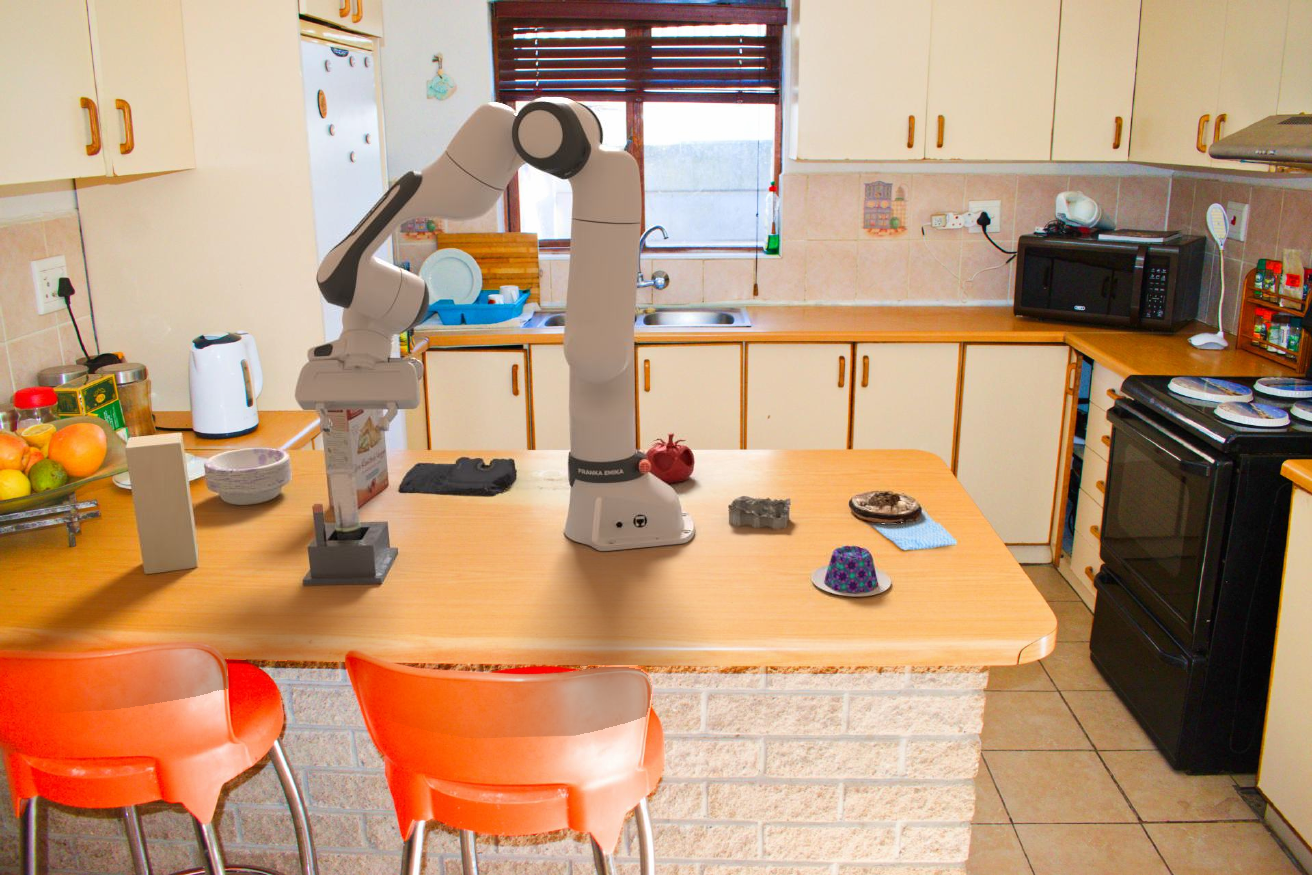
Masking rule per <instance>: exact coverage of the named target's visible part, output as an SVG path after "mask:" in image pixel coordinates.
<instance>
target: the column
mask: <svg viewBox="0 0 1312 875" xmlns="http://www.w3.org/2000/svg"><path fill="white" fill-rule="evenodd" d="M357 470H358V465H329V466H328V467H327V468H326V467H325V475H326V474H330V477H331V486H332V495H333V504H334V507H333V511H334V521H335V522H334V523H336V524H335V531H336V532H337V541H338V540H361V532H360V529H361V523H360V522H361V521H360V515H359V513H360V512H359V507H358V503H357V493H356V483H355V473H356V472H357Z"/></svg>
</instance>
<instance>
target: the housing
mask: <svg viewBox="0 0 1312 875" xmlns="http://www.w3.org/2000/svg"><path fill="white" fill-rule="evenodd" d="M323 506H324V505H323V503H314V504H312V506H311V507H312V516H313V524H314V534H315V536H314V537H313V539H312V540H311V542H310V543H309V545H307V554H308V562H309V569H308V571H307V573H306V574H305V576H304V577H303V579H302V585H303V586H345V585H348V586H349V585H351V586H352V585H355V586H356V585H382V584H383V583H384V581H385V578H386V577H387V575H388V573H389V571H390V570H391V567H392V565H393V564H394V562H395V560H396V558H397V556H398V555H399V547H391V543H390V532H389V522H388V521H360V523H361V529H360V532H361V540H338V541H337V532H336V531H335V524H336V523H335V522H325V514H324V508H323Z"/></svg>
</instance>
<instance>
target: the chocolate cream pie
mask: <svg viewBox="0 0 1312 875" xmlns="http://www.w3.org/2000/svg"><path fill="white" fill-rule="evenodd" d="M848 506H849V509H850V511H851V512H852V514H853V517H854V518H856V519H857V520H861V521H863V522H865V523H870V524H872V523H873V524H876V523H901V522H905V523H907V522H906V521H909V522H912V521H914V520H916V519H917V518H918V517H919V516H920V517H921V514H922V512H923V509H922V508H923V507H922V506H921V504H920V503H919V501H917V500H916V498H913V497H912V496H910V495H907V494H905V493H903V492H902V493H901V494H900V493H894V490H892V491H891V490H872V491H867V492H866V491H865V492H862V493H858V494H856V495H854V496H853V497H851V498H850V499H849V501H848ZM920 517H919V518H920ZM919 518H918V519H919ZM911 520H912V521H911ZM916 521H918V520H916ZM916 521H915V522H916Z"/></svg>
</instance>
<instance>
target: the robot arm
mask: <svg viewBox="0 0 1312 875" xmlns="http://www.w3.org/2000/svg"><path fill="white" fill-rule="evenodd" d="M603 140H604V130H603V126H602V124H601V120H600V119H599V117H598V116H597V115H596V113H595V112H594V111H593V110H592V109H591V108H590V107H588V106H587V105H585V104H584V103H581V102H577V101H574V100H572V99H569V98H566V97H559V96H558V97H557V96H554V97H549V96H545V97H539V98H536V99H534V100H531V101H530V102H528V103H525V105H524V106H522V107H521V108H520V110H519V111H516V110H515V109H513V107H511V106H509V105H506V104H504V103H500V102H495V101H494V102H490V101H489V102H486V103H484V104H483V103H482V104H481V105H480V106H479V107H478V108H477V109H476V110H475V111H474V112H473V113H472V114H471V115H470V116H469V117H468V119H467V120H466V121H465V122H463V124H462V126H460V128H459V130H458V131H457V132H456V133H455V135H454V136H453V138H452V139H451V140H450V142H449V144H448V145H447V147H446V148H445V150H444V151H443V152H442V154H441V155H440V156H439V157H438V158H437V159H435V161H434V162H432V163H431V164H429V165H428V166H427V167H424V168H421V169H420V170H410V171H408V172H406V173H404V174H403V176H401V177H400V178H399V179H398V180H396V182H395V183H394V184H392V186H391V187H390V188H389V189H388V190H387V191H386V192H385V193H384V194H383V195H382V197H380V199H378V201H377V202H376V203H375V204H374V205H373V206H372V207H371V208H370V210H369V211H368V212H367V213H366V214H365V215H364V217H363V218H362V219H361V220H360V221H359V222H358V223H357V225H356V226H355V227H354V228H353V229H352V230H351V231H350V233H348V235H346V236H345V238H344V239H342V240H341V241H340V242H339V243H338V244H336V245H335V246H334V247H333V248H331V249H330V250H329V252H328V253H327V254H326V255H325V257H324V258H323V260H322V261H321V263H320V265H319V267H318V270H317V273H316V283H317V286H318V289H319V291H320V293H321V294H322V297H323V298H324V299H325V301H326V303H327V304H331V305H333V306H337V307H340V308H343V310H342V314H341V315H342V317H341V323H342V331H341V332H340V335H339V337H338V338H337V339H335V340H332V341H330V342H326V343H323V344H319V345H317V346H312V347H310V348H309V349H308V350H307V352H306V353H307V354H306V356H307V360H308V362H306V363H305V364H304V365H303V366H302V367H301V370H300V372H299V375H298V379H297V382H296V386H295V392H294V398H295V400H296V403H297V404H298V405H299V407H300V408H301V409H302V410H303V411H316V413H317V416H318V417H319V429H320V432H331V427H332V422H331V421H330V418H325V417H324V416H323V414H324V415H326V414H327V410H369V409H383V410H387V412H386V413H385V414H384V415H383V416H384V417H380V418H378V422H379V423H378V429H379V431H385V432H389V431H390V423H391V422H392V421H393V420H394V418H396V416H397V415H398V414H399V413H398V412H399V410H415V409H417V407H418V406H419V405H420V404H421V397H422V396H421V384H420V381H421V380H422V378H423V376H424V371H425V366H424V364H423V362H422V361H421V360H418V359H417V358H416V357H392V347H393V345H392V339H393V337H394V336H395V335H397V336H398V335H401V334H404V333H406V332H408V331H409V330H412V329H414V328H416V327H417V326H419V325H421V323H422V322H423V321H424V320H425V318H426V316H427V314H428V311H429V305H430V292H429V287H428V285H427V282H426V280H425V279H424V278H421V277H420V276H419V275H417V274H415V273H413V272H411V271H408V270H406V269H404V268H402V267H400V266H397V265H394V264H392V263H390V262H387V261H386V260H384V259H381V258H379V257H377V256H375V255H374V254H375V253H376V252H378V250H379V249H380V247H381V246H382V245H384V243H385V242H386V241H387V240H388V238H390V237H391V235H392V234H393V233H394V232H395V231H396V230H397V229H398V228H399V227H400V226H401V225H402V224H404V223H406V222H408V221H410V220H415V219H440V220H446V221H455V222H464V221H465V222H466V221H471V220H476V219H478V218H481V217H483V216H485V215H486V214H488V213H489V211H490V210H491V209H492V208H493V207H494V206H495V204H497V202H498V201H499V199H500V197H502V195H503V193H504V192H505V190H506V188H507V187H508V185H509V183H510V182H511V181H512V179H513V177H514V176H515V174H516V173H517V172H518V171H519V170H520V168H522V167H523V166H524V165H525V164H528V165H529V166H531V167H533V168H534V169H536V170H539V171H540V172H543V173H546V174H549V175H551V176H553V177H556V178H558V179H561V180H567V181H568V182H569V183H570V187H571V191H572V204H571V206H572V208H571V227H570V228H571V229H570V245H569V246H570V248H569V267H568V268H569V269H568V277H567V278H568V279H567V288H566V290H567V292H566V303H565V316H564V330H563V331H564V332H563V348H562V349H563V354H564V357H565V360H566V363H567V364H568V367H569V370H568V371H569V380H568V382H569V387H568V388H569V390H568V391H569V393H568V397H569V398H568V418H569V420H568V423H569V444H570V451H569V452H568V455H567V456H568V457H567V478H568V483H569V487H570V492H569V493H570V494H569V503H568V504H569V505H568V511H567V517H566V522H565V525H564V529H563V533H564V535H565V536H566V537H567V538H568V539H570V540H571V541H573V542H576V543H580V544H583V545H587V546H590V547H592V548H593V549H595V550H597V551H600V552H608V551H609V552H610V551H618V550H629V549H639V548H640V549H641V548H648V547H649V548H651V547H660V546H670V545H680V544H686V543H688V542H689V541H691V540H692V539H693V538H694V535H695V532H696V531H695V522H694V519H693V517H692V516H691V514H689V512H687V511H685V510H683V509H682V505H681V502H680V499H679V496H678V494H677V492H676V490H675V489H674V488H673V487H672V486H671V485H670V484H669V483H665V482H663V481H662V480H660V479H659V478H657V477H656V476H654V475H653V474H651V473H650V472H649V471H650V470H651V469H650V468H651V463H650V461H649V460H648V456H647V455H646V453H647V452H645V450H642V451H640V449H637V447H636V445H637V443H636V440H637V438H636V393H635V392H636V390H635V388H636V387H635V386H636V385H635V384H636V383H635V380H636V377H635V376H636V375H635V374H636V373H635V322H636V321H635V320H636V304H637V293H638V279H639V278H638V276H639V274H638V273H639V263H640V243H641V230H642V229H641V226H642V211H643V210H642V209H643V208H642V205H643V204H642V202H643V201H642V185H641V184H642V183H641V175H640V166H639V164H638V161H637V159H636V158H635V157H634V156H633V155H632V154H630V152H628V151H627V150H626V151H625V150H624V149H623V148H619V147H614V146H607V145H604V143H603Z"/></svg>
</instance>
